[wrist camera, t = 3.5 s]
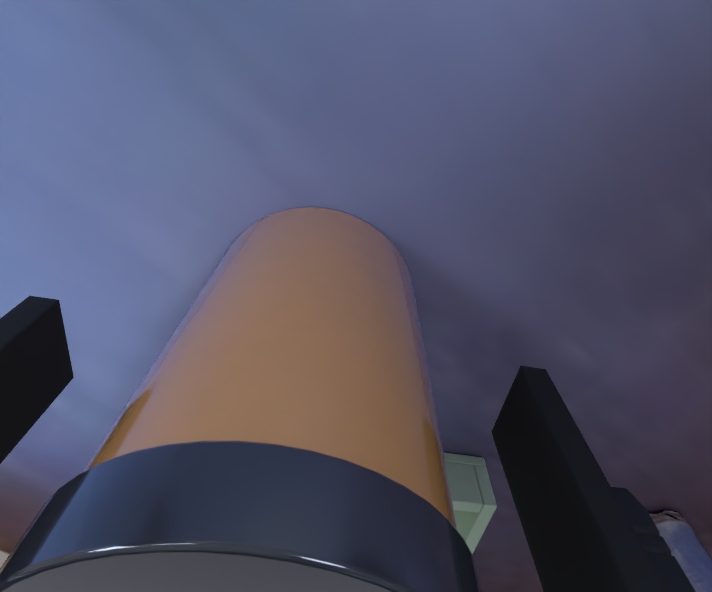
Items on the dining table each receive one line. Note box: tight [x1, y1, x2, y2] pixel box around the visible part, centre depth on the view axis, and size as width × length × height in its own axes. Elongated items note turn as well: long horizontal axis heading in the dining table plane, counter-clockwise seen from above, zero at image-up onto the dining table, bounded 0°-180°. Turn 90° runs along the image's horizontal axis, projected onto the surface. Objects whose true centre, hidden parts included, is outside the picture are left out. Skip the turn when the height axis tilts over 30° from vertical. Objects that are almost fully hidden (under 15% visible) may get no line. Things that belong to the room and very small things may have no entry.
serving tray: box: [444, 452, 497, 554], centre depth 23 cm, size 14×16×2 cm
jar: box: [0, 207, 482, 592], centre depth 12 cm, size 8×8×12 cm
